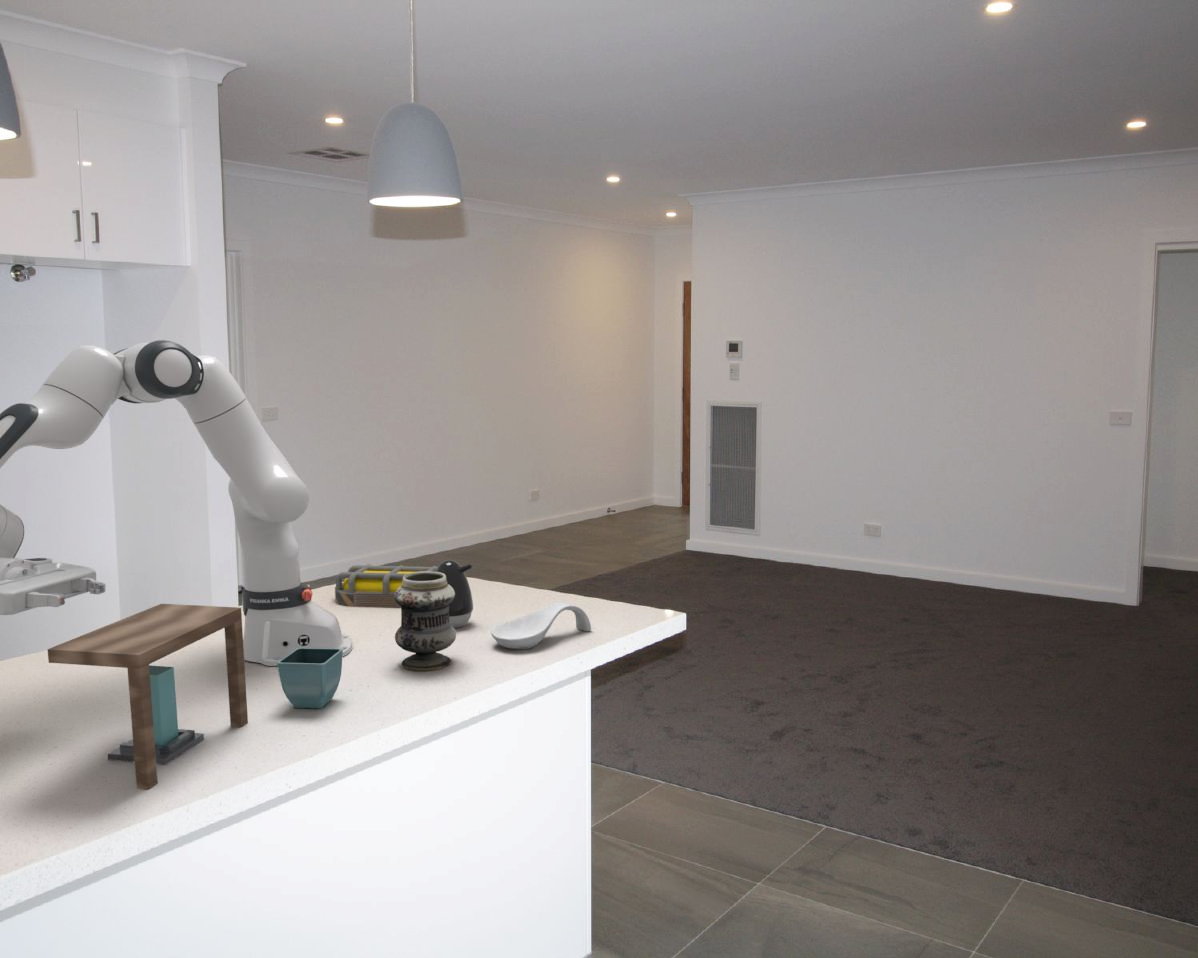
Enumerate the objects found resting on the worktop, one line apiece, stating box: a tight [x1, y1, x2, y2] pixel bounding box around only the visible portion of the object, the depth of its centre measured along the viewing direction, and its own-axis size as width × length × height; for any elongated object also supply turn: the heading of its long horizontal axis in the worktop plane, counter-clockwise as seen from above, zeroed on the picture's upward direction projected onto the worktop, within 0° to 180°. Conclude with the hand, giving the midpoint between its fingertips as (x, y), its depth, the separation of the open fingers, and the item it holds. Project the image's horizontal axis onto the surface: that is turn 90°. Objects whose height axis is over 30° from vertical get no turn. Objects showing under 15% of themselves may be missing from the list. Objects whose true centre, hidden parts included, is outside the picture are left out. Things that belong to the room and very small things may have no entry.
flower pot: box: [276, 648, 343, 709], centre depth 178 cm, size 9×9×9 cm
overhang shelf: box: [47, 603, 249, 790], centre depth 157 cm, size 15×26×20 cm, turn 168°
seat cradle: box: [107, 728, 205, 766], centre depth 159 cm, size 10×10×2 cm
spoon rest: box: [490, 602, 592, 650], centre depth 215 cm, size 24×12×7 cm, turn 131°
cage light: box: [334, 563, 438, 609], centre depth 250 cm, size 15×8×30 cm
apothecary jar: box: [394, 571, 457, 672], centre depth 199 cm, size 12×12×18 cm
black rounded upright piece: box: [435, 559, 474, 629], centre depth 226 cm, size 10×10×15 cm
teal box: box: [149, 664, 179, 746], centre depth 158 cm, size 5×4×12 cm
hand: (82, 594), depth 159 cm, fingers open, 8 cm apart
